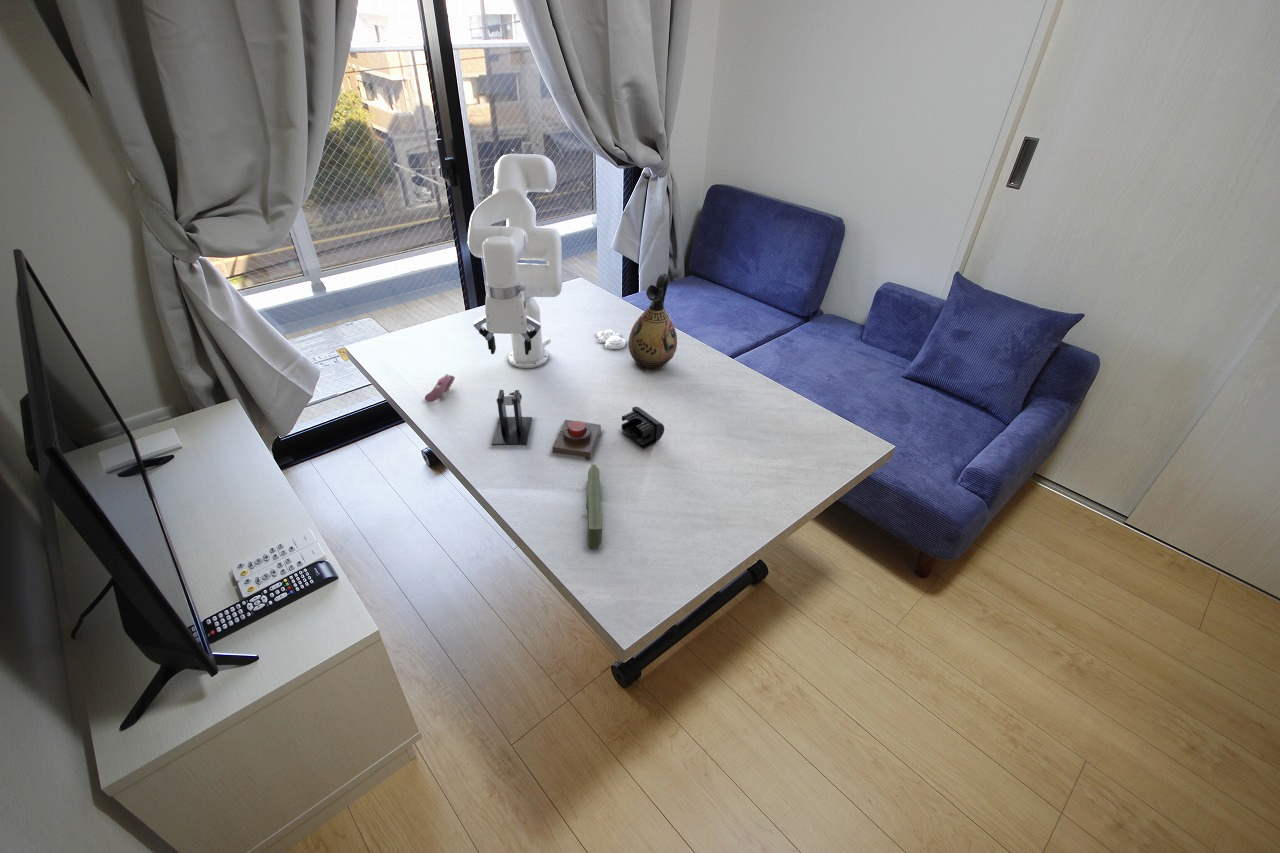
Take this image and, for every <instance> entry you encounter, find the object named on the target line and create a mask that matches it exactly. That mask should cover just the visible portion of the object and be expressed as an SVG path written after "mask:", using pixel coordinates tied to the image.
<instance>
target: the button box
mask: <svg viewBox="0 0 1280 853" xmlns="http://www.w3.org/2000/svg"><path fill="white" fill-rule="evenodd" d="M573 421H574V420H571V419H570V420H569V419H564V421H563V423H562V425H561V427H560V430H559V432H558V433H557V436H556V438H555V440H554V442H553V444H552V447H551V450H552V453H555V454H561V455H568V456H574V457H582V458H585V460H586V461H592V457H593V454H594V452H595V449H596V447H597V444H598V441H599V438H600V436H601V432H602V431H601V430H602V425H601V424H599V423H593V422H592V423H591V422H584V421H582V422H583V423H584V424H585V433H584V434H583V435H581V436H572V435H570V434H569V429H568V426H569V424H570V423H571V422H573Z"/></svg>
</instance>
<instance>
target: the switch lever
mask: <svg viewBox="0 0 1280 853" xmlns="http://www.w3.org/2000/svg"><path fill="white" fill-rule="evenodd" d="M514 393H515V390H513V391H510V393H509V394H504V405H505V406H514V405H513V397H514ZM519 395H520V398H521V400H523V399H522V398H523V397H522V394H521V392H519Z"/></svg>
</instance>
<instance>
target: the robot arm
mask: <svg viewBox="0 0 1280 853" xmlns="http://www.w3.org/2000/svg"><path fill="white" fill-rule="evenodd" d="M493 173H494V183H493V190H492V194H491V195H489V196H487V197H486V198H485V199H483V200H482V201H481V202H480V203H479V204H478V205H476V207H475V208H474V209H473V210H472V213H471V215H470V219H469V225H468V231H467V245H468V246H467V247H468V249H469V252H470V253H471V255H473V256H474V257H475V258H478V259H483V263H484V271H485V280H486V286H487V288H486V289H487V291H486V293H485V299H484V300H485V304H484V305H485V307H484V309H485V311H484V312H485V313H484V314H485V315H484V316H482V317H480V318H479V319H477V320H475V321H474V322H473V327H474V328H475V329H476V331H478V333H479V334H480V335H481V336H482V337H483V338H484V339H485V340H486V341H487V347H488V348H487V349H488V350H489V351H490V354H491V355H495V353H496V349H497V346H496V338H495V336H494V334H504V335H505V334H506V335H507V334H509V335H510V339H511V340H510V341H511V347H512V350H511V351H510V352H509V354H508V356H507V357H508V363H510V364H511V365H512V366H514V367H516V368H519V369H534V368H538V367H541V366H543V365H545V364H546V362H547V361H548V359H549V354H548V352H547V351H546V350H545V348H546V346H548V345H550V344H551V342H552V341H551V338H549V337H546V338H545V339H543V335H542V321H541V309H540V306H539V304H538V302H537V301H536V299H535V298H556V297H558V296H560V295H561V292H562V289H563V249H562V248H563V245H562V244H563V243H562V237H561V233H560V232H559V230H558V229H556V228H555V227H551V226H537V210H536V207H535V206H534V205H533V203H532V202H531V201H530V199H529V198H528V197H527V196H528V193H552V192H553V191H554V190H555V188H556V185H557V176H558V175H557V170H556V166H555V164H554V162H553V161H552V160H551V159H550V158H549V157H548V156H545V155H543V154H533V153H532V154H529V153H507V154H503V155H502V156H501V157H500V158H499V159H498V160H497V162H496V163H495V165H494V170H493ZM503 221H506V225H505V226H503V225H494V224H497V223H500V222H503ZM518 261H544V262H545V263H522V262H521V263H518ZM484 324H485V326H486V328H485V327H484V326H483V325H484Z"/></svg>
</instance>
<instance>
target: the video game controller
mask: <svg viewBox="0 0 1280 853" xmlns="http://www.w3.org/2000/svg"><path fill="white" fill-rule="evenodd" d="M455 379H456V377H455V376H453V375H451V374H448V373H446V374H445V375H443V377H440V378H439V379H438V380H437V382H436V384H435V386H434V387H433V388H432V390H431V391H430V392H429V393H427V394H426V395H425V396H424V400H425V401H426V402H427V403H433V402H436V401H437V400H438V399H439V400H442V398H443V397H444V396H445V395H446V393H448V392H449V391H450V388H451V386H452V384H454V381H455Z"/></svg>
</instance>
